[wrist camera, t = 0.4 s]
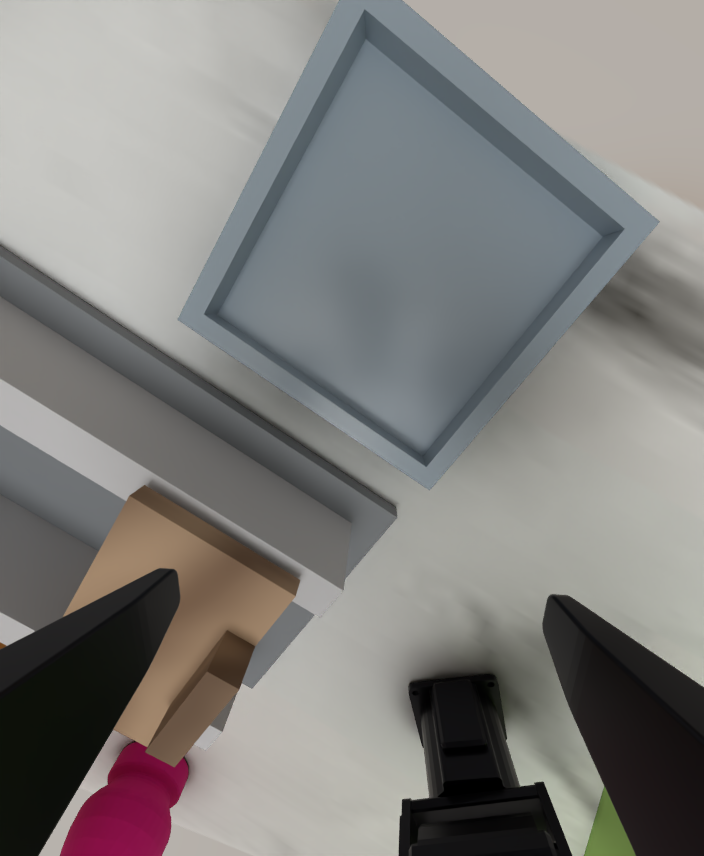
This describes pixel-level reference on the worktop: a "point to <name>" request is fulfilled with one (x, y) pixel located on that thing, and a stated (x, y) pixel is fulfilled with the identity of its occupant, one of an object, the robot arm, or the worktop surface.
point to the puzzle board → (195, 402)
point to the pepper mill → (129, 808)
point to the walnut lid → (187, 617)
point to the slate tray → (408, 242)
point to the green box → (608, 832)
